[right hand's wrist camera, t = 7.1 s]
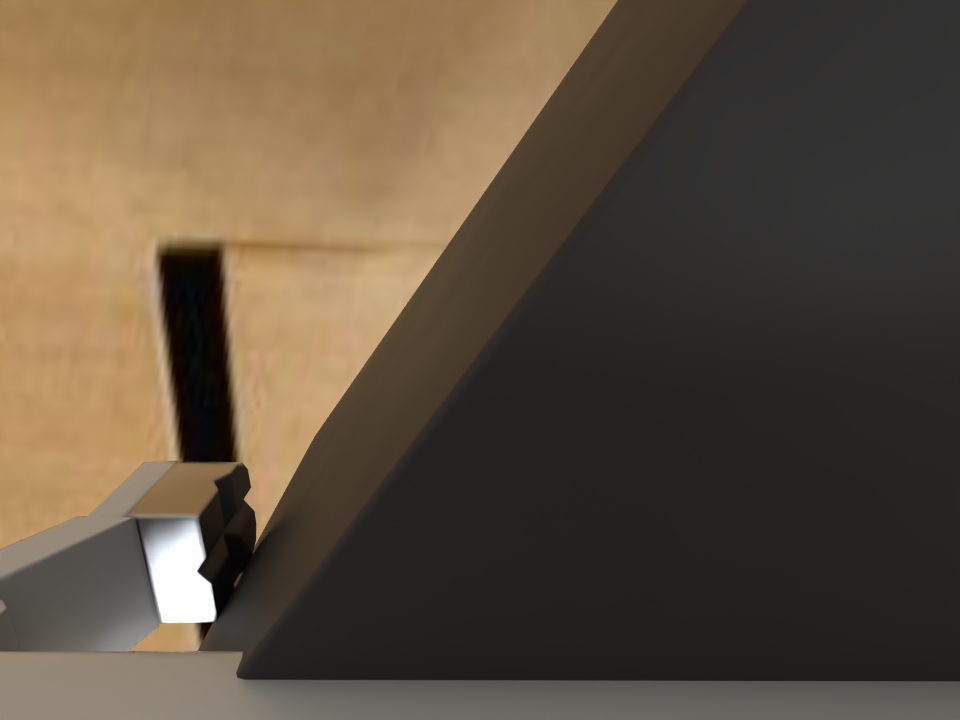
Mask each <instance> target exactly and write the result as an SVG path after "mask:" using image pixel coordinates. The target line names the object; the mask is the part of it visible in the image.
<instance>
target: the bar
mask: <svg viewBox="0 0 960 720" xmlns="http://www.w3.org/2000/svg"><path fill="white" fill-rule="evenodd" d="M234 587H235V588H234V590H233V592H232V593H231V595H230V597H229V599H228V601H227V603H226V604H225V606H224V608H223V610H222V612H221V614H220V616H219V617H218V619H217V621H216V622H213V624H212V626H211V628H210V629H209V631H208V633H207V635H206V637H205V639H204V640H203V642H202V644H201V646H200V648H199V650H198V651H242V652H243V655H242V659H241V661H240V664H239V666H238V669H237V671H236V675H237V678H240V679H244V680H561V681H960V0H618V1H617V3H616V4H615V5H614V7H613V8H612V10H611V11H610V13H609V14H608V16H607V17H606V18H605V20H604V21H603V23H602V24H601V26H600V27H599V28H598V30H597V31H596V33H595V34H594V36H593V37H592V39H591V40H590V41H589V43H588V44H587V46H586V47H585V49H584V50H583V52H582V53H581V54H580V56H579V57H578V59H577V60H576V62H575V63H574V64H573V66H572V67H571V69H570V70H569V72H568V73H567V75H566V76H565V77H564V79H563V80H562V82H561V83H560V85H559V86H558V87H557V89H556V90H555V92H554V93H553V95H552V96H551V98H550V99H549V100H548V102H547V103H546V105H545V106H544V108H543V109H542V110H541V112H540V113H539V115H538V116H537V118H536V119H535V121H534V122H533V123H532V125H531V126H530V128H529V129H528V131H527V132H526V133H525V135H524V136H523V138H522V139H521V141H520V142H519V144H518V145H517V146H516V148H515V149H514V151H513V152H512V154H511V155H510V157H509V158H508V159H507V161H506V162H505V164H504V165H503V167H502V168H501V169H500V171H499V172H498V174H497V175H496V177H495V178H494V180H493V181H492V182H491V184H490V185H489V187H488V188H487V190H486V191H485V192H484V194H483V195H482V197H481V198H480V200H479V201H478V203H477V204H476V205H475V207H474V208H473V210H472V211H471V213H470V214H469V215H468V217H467V218H466V220H465V221H464V223H463V224H462V226H461V227H460V228H459V230H458V231H457V233H456V234H455V236H454V237H453V239H452V240H451V241H450V243H449V244H448V246H447V247H446V249H445V250H444V251H443V253H442V254H441V256H440V257H439V259H438V260H437V262H436V263H435V264H434V266H433V267H432V269H431V270H430V272H429V273H428V274H427V276H426V277H425V279H424V280H423V282H422V283H421V285H420V286H419V287H418V289H417V290H416V292H415V293H414V295H413V296H412V297H411V299H410V300H409V302H408V303H407V305H406V306H405V308H404V309H403V310H402V312H401V313H400V315H399V316H398V318H397V319H396V321H395V322H394V323H393V325H392V326H391V328H390V329H389V331H388V332H387V333H386V335H385V336H384V338H383V339H382V341H381V342H380V344H379V345H378V346H377V348H376V349H375V351H374V352H373V354H372V355H371V356H370V358H369V359H368V361H367V362H366V364H365V365H364V367H363V368H362V369H361V371H360V372H359V374H358V375H357V377H356V378H355V379H354V381H353V382H352V384H351V385H350V387H349V388H348V390H347V391H346V392H345V394H344V395H343V397H342V398H341V400H340V401H339V402H338V404H337V405H336V407H335V408H334V410H333V411H332V413H331V414H330V415H329V417H328V418H327V420H326V421H325V423H324V424H323V426H322V427H321V428H320V430H319V431H318V433H317V434H316V436H315V437H314V439H313V441H312V443H311V444H310V446H309V448H308V450H307V452H306V454H305V455H304V457H303V459H302V461H301V463H300V465H299V466H298V468H297V470H296V472H295V474H294V476H293V477H292V479H291V481H290V483H289V485H288V487H287V488H286V490H285V492H284V494H283V496H282V498H281V499H280V501H279V503H278V505H277V507H276V509H275V510H274V512H273V514H272V516H271V518H270V520H269V521H268V523H267V525H266V527H265V529H264V531H263V532H262V534H261V536H260V538H259V540H258V542H257V543H256V545H255V547H254V551H253V554H252V556H251V558H250V560H249V562H248V564H247V566H246V567H245V569H244V571H243V572H242V573H240V574H239V576H238V578H237V580H236V582H235V584H234Z"/></svg>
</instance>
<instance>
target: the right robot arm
mask: <svg viewBox="0 0 960 720" xmlns="http://www.w3.org/2000/svg"><path fill="white" fill-rule="evenodd" d="M250 488H251V485H250V480H249V474H248V469H247V468H246V467H245V465H244V464H243V463H233V462H179V461H155V462H144V463H143V464H142V465H141V466H140V467H139V468H138V469H137V470H135V471H134V472H133V473H132V474H131V475H130V476H129V477H128V478H127V479H126V480H125V481H124V482H123V483H122V484H121V485H120V486H119V487H118V488H117V489H116V490H115V491H114V492H113V493H112V494H111V495H110V496H109V497H108V498H107V499H106V500H105V501H104V502H103V503H102V504H101V505H99V506H98V507H97V508H96V509H95V510H94V511H93V512H92V513H91V514H90V515H89V516H88V517H76V518H73V519H71V520H68V521H66V522H64V523H61V524H59V525H57V526H54V527H52V528H50V529H47V530H45V531H42V532H40V533H38V534H35V535H33V536H31V537H28V538H26V539H23V540H21V541H19V542H16V543H14V544H12V545H9V546H7V547H5V548H2V549H0V720H960V681H561V680H244V679H240V678H237V675H236V671H237V669H238V666H239V664H240V661H241V659H242V655H243V652H242V651H128V650H129V649H131V648H132V647H133V646H134V645H136V644H137V643H138V642H140V641H141V640H142V639H143V638H145V637H146V636H147V635H149V634H150V633H151V632H152V631H154V630H155V629H156V628H158V627H159V623H191V622H216V621H217V619H218V617H219V616H220V614H221V612H222V610H223V608H224V606H225V604H226V603H227V601H228V599H229V597H230V595H231V593H232V592H233V590H234V588H235V587H234V581H233V578H234V577H236V576H237V575H239V574H240V573H242V572H243V571H244V569H245V567H246V566H247V564H248V562H249V560H250V558H251V556H252V554H253V551H254V546H255V542H256V519H255V512H254V510H253V509H252V508H251V507H250V506H249V505H248V504H247V503H246V502H245V501H244V500H243V499H244V498H245V496H246V494H247V493H248V491H249V490H250Z"/></svg>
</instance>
